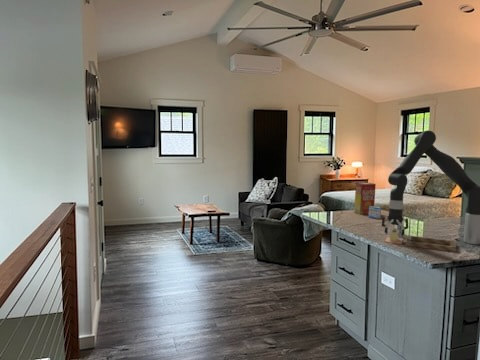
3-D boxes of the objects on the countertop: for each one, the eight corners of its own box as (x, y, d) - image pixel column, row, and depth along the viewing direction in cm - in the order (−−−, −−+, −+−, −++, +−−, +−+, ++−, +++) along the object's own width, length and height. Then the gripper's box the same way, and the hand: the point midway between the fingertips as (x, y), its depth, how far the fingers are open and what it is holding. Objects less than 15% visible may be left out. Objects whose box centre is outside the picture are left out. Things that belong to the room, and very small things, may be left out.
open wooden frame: (454, 245, 204) (454, 240, 204) (455, 252, 191) (456, 247, 191) (407, 239, 216) (407, 235, 215) (406, 245, 202) (406, 241, 202)
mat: (402, 239, 215) (402, 238, 215) (401, 244, 205) (401, 243, 205) (386, 237, 219) (386, 236, 219) (384, 242, 209) (384, 241, 209)
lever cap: (398, 239, 214) (398, 228, 214) (397, 241, 208) (397, 231, 207) (391, 238, 216) (391, 228, 215) (389, 240, 210) (390, 230, 209)
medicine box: (368, 217, 279) (368, 206, 278) (370, 216, 282) (371, 205, 282) (378, 219, 274) (379, 207, 273) (380, 218, 277) (381, 207, 276)
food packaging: (360, 214, 290) (361, 184, 287) (353, 212, 299) (355, 182, 296) (374, 214, 293) (376, 183, 291) (367, 212, 302) (369, 182, 300)
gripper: (409, 207, 210) (407, 235, 212) (383, 205, 217) (382, 231, 218) (409, 209, 204) (407, 237, 205) (382, 207, 210) (380, 234, 212)
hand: (394, 234), depth 212 cm, fingers open, 8 cm apart
